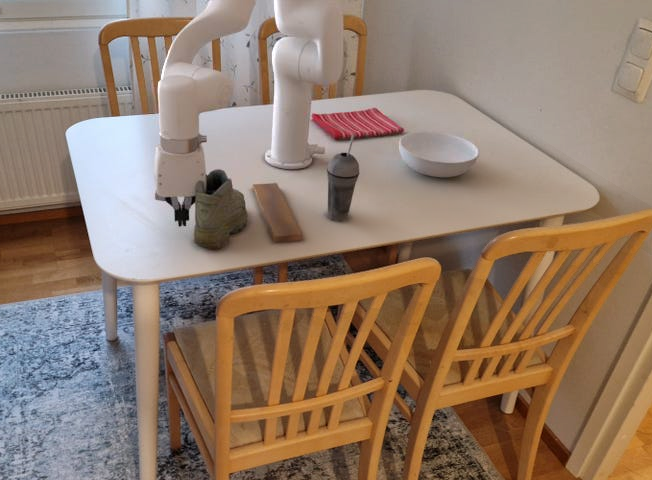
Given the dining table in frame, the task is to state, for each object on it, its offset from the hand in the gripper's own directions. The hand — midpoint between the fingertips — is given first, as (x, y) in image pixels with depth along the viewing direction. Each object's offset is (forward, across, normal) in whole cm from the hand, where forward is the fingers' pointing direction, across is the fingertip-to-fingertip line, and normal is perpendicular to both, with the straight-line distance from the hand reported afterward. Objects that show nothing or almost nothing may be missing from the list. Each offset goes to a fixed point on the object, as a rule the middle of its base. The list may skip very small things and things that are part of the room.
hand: (181, 223), depth 134 cm
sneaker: (+3, -8, -2) cm, 9 cm away
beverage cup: (+3, -36, -4) cm, 36 cm away
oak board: (+3, -22, -7) cm, 23 cm away
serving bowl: (+2, -69, -27) cm, 74 cm away
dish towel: (+2, -56, -56) cm, 79 cm away
